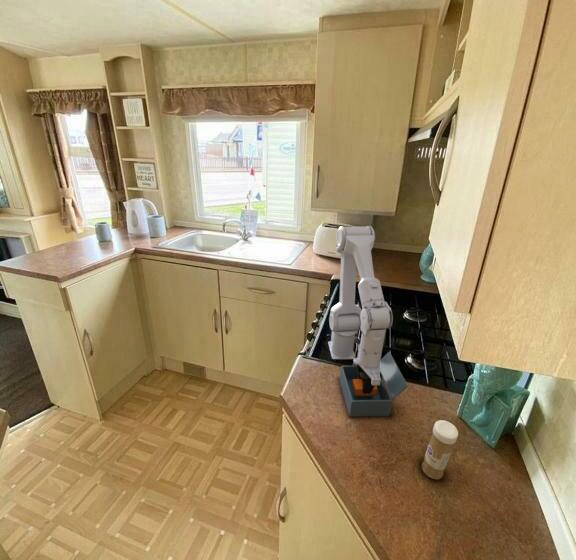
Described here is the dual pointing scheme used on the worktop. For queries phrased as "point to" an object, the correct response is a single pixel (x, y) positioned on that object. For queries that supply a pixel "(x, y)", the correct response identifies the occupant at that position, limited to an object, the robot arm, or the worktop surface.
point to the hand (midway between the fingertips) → (364, 386)
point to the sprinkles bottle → (439, 449)
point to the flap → (392, 375)
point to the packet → (358, 388)
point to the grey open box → (364, 404)
